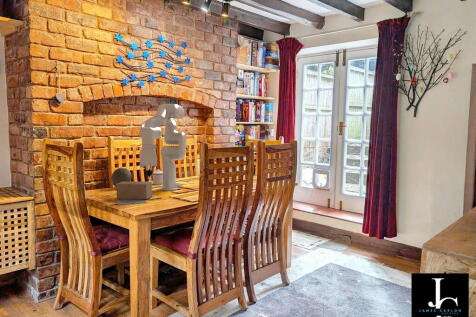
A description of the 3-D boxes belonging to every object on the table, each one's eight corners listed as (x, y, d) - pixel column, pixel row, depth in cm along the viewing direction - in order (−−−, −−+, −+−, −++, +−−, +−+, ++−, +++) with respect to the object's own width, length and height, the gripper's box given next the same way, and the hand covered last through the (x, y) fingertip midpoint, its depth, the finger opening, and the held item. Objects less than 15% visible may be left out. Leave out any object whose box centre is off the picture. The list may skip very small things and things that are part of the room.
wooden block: (146, 183, 223) (116, 183, 226) (146, 199, 224) (116, 199, 227) (152, 181, 233) (123, 181, 236) (152, 196, 234) (123, 196, 237)
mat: (143, 198, 231) (143, 197, 231) (147, 202, 218) (147, 202, 218) (116, 200, 224) (116, 199, 224) (117, 205, 211) (117, 204, 211)
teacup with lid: (165, 182, 287) (164, 168, 286) (163, 184, 278) (163, 170, 277) (149, 183, 286) (149, 168, 285) (148, 185, 277) (147, 170, 276)
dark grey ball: (121, 190, 256) (120, 169, 254) (107, 188, 262) (106, 168, 261) (135, 187, 268) (135, 167, 267) (122, 185, 275) (121, 166, 273)
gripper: (159, 146, 228) (159, 175, 230) (135, 147, 222) (135, 176, 224) (161, 147, 221) (161, 176, 223) (136, 148, 215) (137, 178, 217)
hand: (148, 176), depth 224 cm, fingers closed
